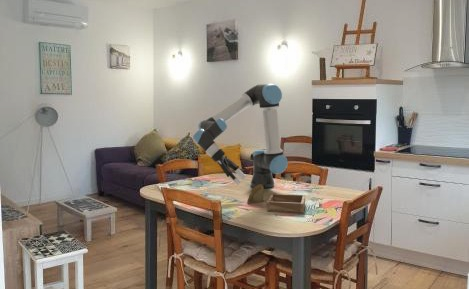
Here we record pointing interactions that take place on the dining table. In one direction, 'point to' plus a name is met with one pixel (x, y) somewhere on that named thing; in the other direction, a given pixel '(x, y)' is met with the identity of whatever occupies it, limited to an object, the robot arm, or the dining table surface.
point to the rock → (256, 194)
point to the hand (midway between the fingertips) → (242, 180)
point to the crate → (286, 203)
